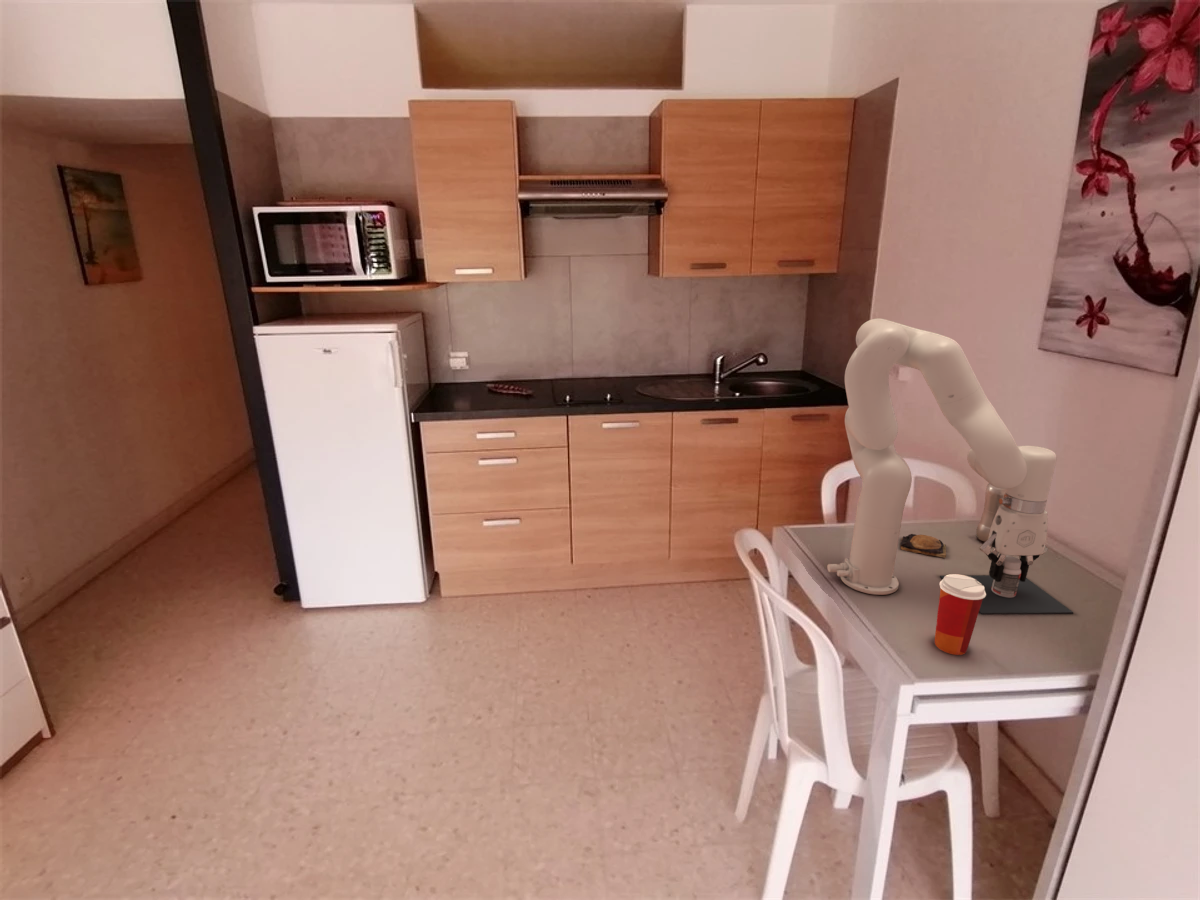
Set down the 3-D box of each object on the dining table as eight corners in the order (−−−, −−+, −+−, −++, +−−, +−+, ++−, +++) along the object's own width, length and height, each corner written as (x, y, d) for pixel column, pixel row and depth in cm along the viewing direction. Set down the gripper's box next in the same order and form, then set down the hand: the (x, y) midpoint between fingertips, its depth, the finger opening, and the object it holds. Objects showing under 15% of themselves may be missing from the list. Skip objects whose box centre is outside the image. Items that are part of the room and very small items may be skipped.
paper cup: (958, 634, 123) (971, 572, 119) (981, 658, 116) (996, 593, 112) (919, 634, 123) (931, 572, 119) (941, 658, 116) (954, 593, 112)
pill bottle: (1019, 599, 135) (1027, 565, 133) (995, 597, 136) (1003, 563, 134) (1010, 588, 140) (1018, 555, 137) (987, 586, 141) (995, 553, 138)
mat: (980, 614, 130) (981, 612, 130) (939, 576, 146) (939, 575, 145) (1073, 613, 131) (1073, 612, 131) (1022, 576, 146) (1022, 575, 146)
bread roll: (945, 546, 161) (948, 533, 160) (945, 559, 154) (948, 546, 153) (901, 537, 166) (903, 525, 165) (899, 550, 159) (901, 537, 158)
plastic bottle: (968, 537, 166) (983, 468, 160) (988, 534, 168) (1002, 465, 162) (989, 547, 160) (1005, 476, 154) (1009, 544, 162) (1025, 473, 156)
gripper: (996, 510, 128) (979, 587, 133) (1076, 510, 128) (1056, 587, 134) (974, 496, 135) (959, 570, 140) (1050, 496, 135) (1032, 570, 141)
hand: (1006, 577), depth 137 cm, fingers closed on pill bottle, 4 cm apart
